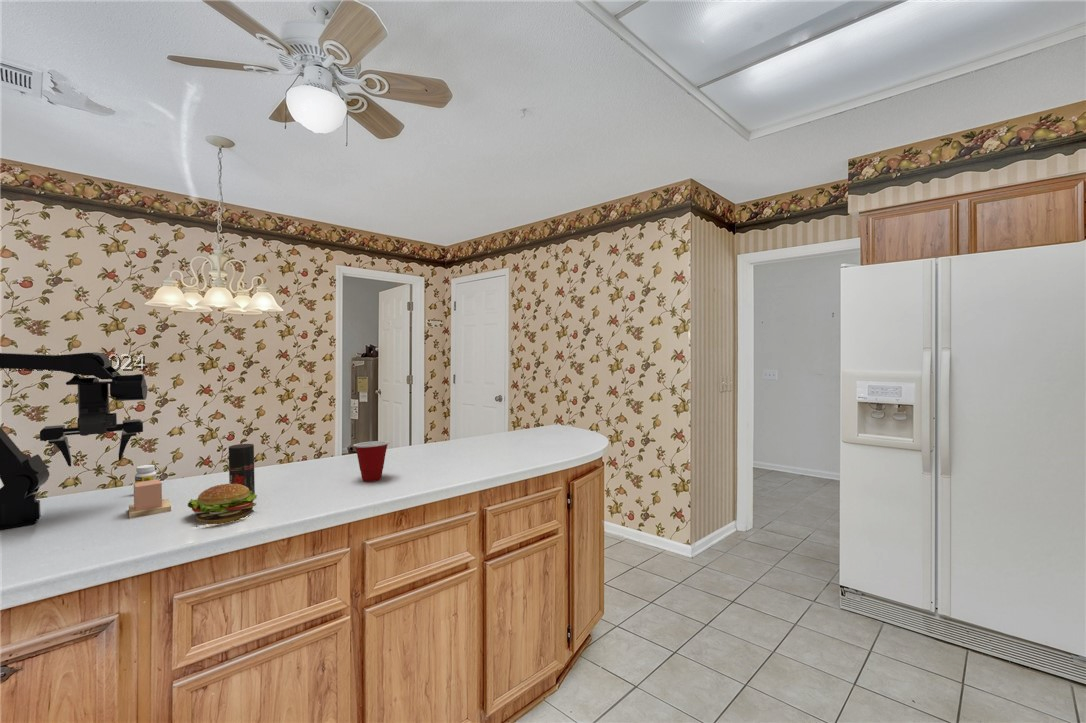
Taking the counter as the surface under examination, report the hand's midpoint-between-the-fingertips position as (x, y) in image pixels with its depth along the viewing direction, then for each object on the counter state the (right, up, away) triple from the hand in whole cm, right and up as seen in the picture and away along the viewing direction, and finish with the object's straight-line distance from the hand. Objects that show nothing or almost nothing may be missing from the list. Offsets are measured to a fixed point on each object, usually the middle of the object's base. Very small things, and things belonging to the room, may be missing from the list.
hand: (95, 463), depth 121 cm
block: (+14, -11, 0) cm, 17 cm away
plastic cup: (+59, -12, +32) cm, 68 cm away
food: (+33, -14, -1) cm, 36 cm away
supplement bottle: (0, -13, +15) cm, 20 cm away
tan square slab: (+13, -12, +1) cm, 18 cm away
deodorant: (+30, -13, +12) cm, 35 cm away
